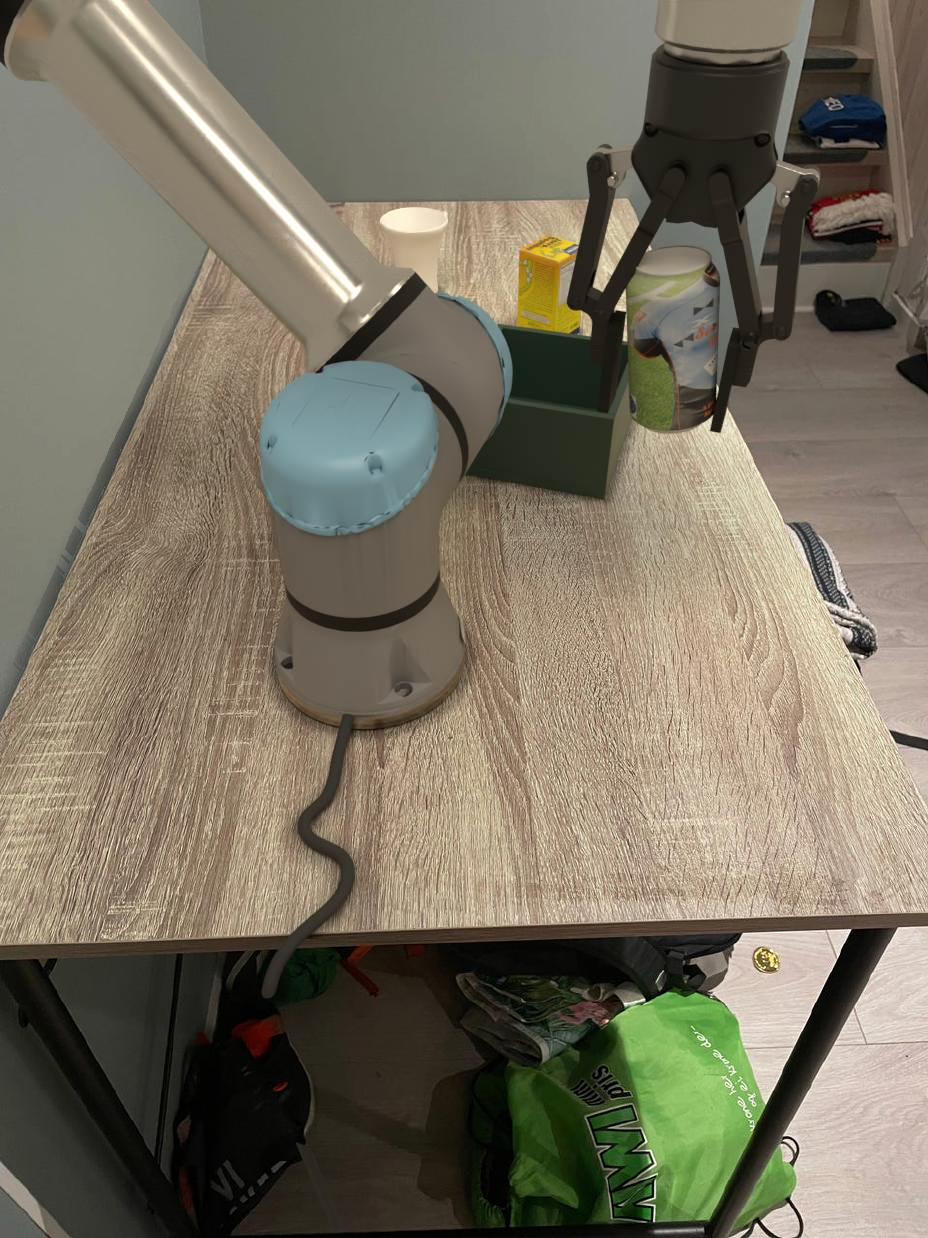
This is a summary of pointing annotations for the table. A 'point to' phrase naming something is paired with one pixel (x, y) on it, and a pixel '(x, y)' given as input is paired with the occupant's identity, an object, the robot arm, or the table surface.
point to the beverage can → (673, 338)
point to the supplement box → (547, 285)
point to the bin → (556, 417)
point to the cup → (416, 239)
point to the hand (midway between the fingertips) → (661, 412)
